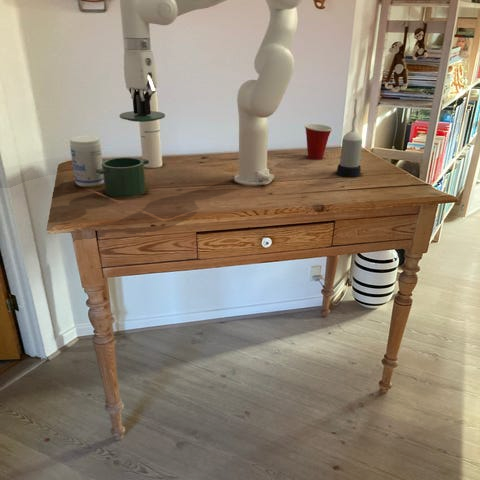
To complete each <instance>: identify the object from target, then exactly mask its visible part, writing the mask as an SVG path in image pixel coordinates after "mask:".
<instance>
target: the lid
mask: <svg viewBox="0 0 480 480" xmlns="http://www.w3.org/2000/svg"><path fill="white" fill-rule="evenodd" d="M136 100H137V113H138V114H135V113H134V110H132V111H126V112H125V111H124V112H121V113H120V114H119V118H120V119H121V120H124V121H125V120H126V121H129V122H137V123H139V122H148V121H155V120H158V119H159V120H162V119H164V118H165V117H166V114H165V113H163V112H160V111H159V112H156V111H151V114H150V115H141V109H140V101H142V100H141V94H139V95H136Z"/></svg>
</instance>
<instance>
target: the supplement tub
mask: <svg viewBox="0 0 480 480" xmlns="http://www.w3.org/2000/svg"><path fill="white" fill-rule="evenodd" d="M101 144H102V143H101V141H100V137H98V136H96V135H77V136H73V137H70V138H69V147H70V154H71V155H70V156H71V162H72V168H73V169H72V170H73V175H74V182H75V185H77V186H78V187H81V188H86V187H94V186H100V185H102V184H104V178H103V174H98V173H96V170H97V169H101V168H102V163H103V162H104V161H103V153H102V145H101Z"/></svg>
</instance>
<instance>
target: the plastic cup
mask: <svg viewBox="0 0 480 480" xmlns="http://www.w3.org/2000/svg"><path fill="white" fill-rule="evenodd" d="M304 128H305V135H306V149H307V157H308V159H309V160H310V159H311V160H322V159H323V158H324V156H325V151H326V148H327V144H328V140H329V137H330V134H331V132H332V131H333V130H334V128H333V127H332V126H329V125H325V124H320V123H319V124H318V123H306V124H305V125H304Z"/></svg>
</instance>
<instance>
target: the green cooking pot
mask: <svg viewBox="0 0 480 480" xmlns="http://www.w3.org/2000/svg"><path fill="white" fill-rule="evenodd" d="M102 162H103V163H102V168H101V169H97V170H96V173H98V174H103V178H104V183H103V185H104V192H105V194H106V196H107V197H110V198H112V199H114V197H115V198H129V197H137V196H140V195H142V194H145V193H146V190H147V185H146V175H145V167H144V164H148V163H149V160H146V159H141V158H137V157H129V156H128V157H127V156H125V157H113V158H108V159H106V160H103V161H102Z"/></svg>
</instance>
